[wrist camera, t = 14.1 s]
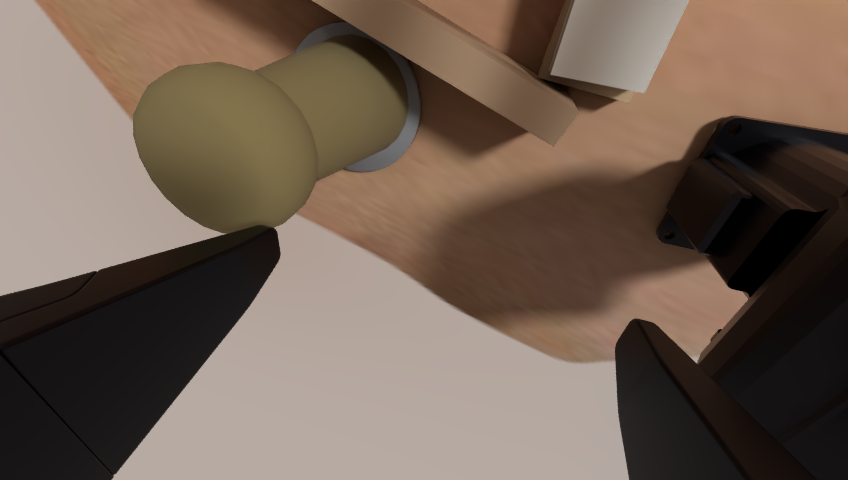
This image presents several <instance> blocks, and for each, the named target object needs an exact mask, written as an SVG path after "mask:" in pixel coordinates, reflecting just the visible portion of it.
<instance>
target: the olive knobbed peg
mask: <svg viewBox="0 0 848 480" xmlns="http://www.w3.org/2000/svg"><path fill="white" fill-rule="evenodd" d="M408 108H409V103H408V94H407V86H406V84H405V81H404V79H403V76H402V74H401V71H400V69H399V67H398V65H397V64H396V63H395V61H394V60H393V59H392V58H391V56H390V55H389V54H388V52H387V51H386V50H385V49H383V48H382V47H380V46H379V45H377V44H376V43H375V42H373V41H372V40H370V39H368V38H364V37H361V36H357V35H354V34H347V35H338V36H333V37H331V38H328V39H326V40H324V41H322V42H319V43H317V44H315V45H312V46H310V47H308V48H306V49H303V50H301V51H299V52H296V53H294V54H292V55H290V56H287V57H285V58H283V59H281V60H278V61H276V62H274V63H271V64H269V65H267V66H265V67H262V68H260V69H258V70H255V71H252V70H248V69H245V68H242V67H238V66H235V65H231V64H226V63H222V62H213V63H204V64H194V65H185V66H178V67H177V68H175V69H173V70H171V71H169V72H167V73H165V74H164V75H162V76H161V77H160V78H158V79H157V80H155V81H154V82H153V83H151V84H150V85H148V87H147V89H146V90H145V92H144V94H143V95H142V97H141V99H140V101H139V103H138V105H137V108H136V110H135V112H134V115H133V136H134V139H135V143H136V146H137V150H138V153H139V157H140V159H141V161H142V163H143V165H144V167H145V168H146V170H147V172H148V174H149V176H150V178H151V180H152V181H153V182H154V183H155V185H156V186H157V187H158V188H159V190H160V191H161V192H162V194H163V195H164V196H165V197H166V198H167V199H168V200H169V201H170V202H171V203H172V204H173V205H174V206H175V207H176V208H178V209H179V210H180V211H181V212H182V213H183V214H184V215H186V216H187V217H189V218H191V219H192V220H194V221H196V222H197V223H199V224H200V225H202V226H204V227H207V228H210V229H212V230H215V231H218V232H221V233H232V232H235V231H239V230H242V229H246V228H249V227H253V226H256V225H265V226H269V227H273V228H274V227H276V226H279V225H281V224H283V223H285V222H286V221H287V220H288V219H289V218H290V217H292V216H293V215H294V214H295V213H296V212H297V211H298V210H299V209H300V208H301V207H302V206H303V205H304V204H305V203H306V201H307V200H308V198H309V196H310V194H311V192H312V190H313V187H314V185H315V182H316V181H318V180H320V179H322V178H324V177H326V176H329V175H331V174H333V173H335V172H337V171H339V170H341V169H344V168H346V167H348V166H350V165H352V164H354V163H356V162H359V161H361V160H363V159H365V158H367V157H369V156H371V155H374V154H376V153H378V152H380V151H382V150H384V149H386V148H388V147H389V146H390V145H391V144H392V143H393V142H394V141H395V140H397V139H398V137H399V135H400V133H401V131H402V130H403V128H404V126H405V124H406V119H407V113H408Z"/></svg>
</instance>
